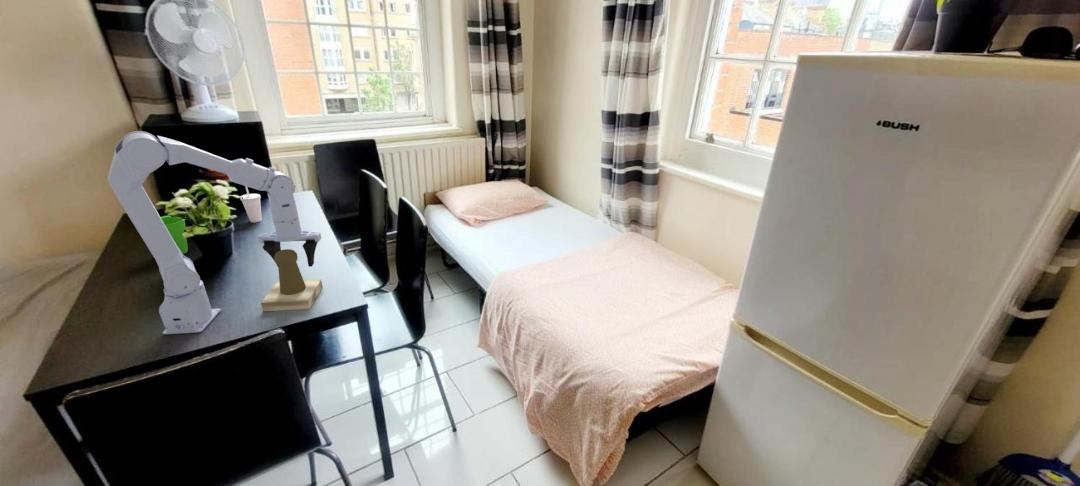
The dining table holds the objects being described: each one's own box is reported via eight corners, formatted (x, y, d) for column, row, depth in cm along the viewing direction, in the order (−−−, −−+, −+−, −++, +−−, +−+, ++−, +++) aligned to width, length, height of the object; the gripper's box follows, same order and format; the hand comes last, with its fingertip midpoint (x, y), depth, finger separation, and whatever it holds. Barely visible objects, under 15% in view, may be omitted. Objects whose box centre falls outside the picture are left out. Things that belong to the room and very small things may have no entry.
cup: (158, 251, 135) (147, 218, 131) (194, 244, 141) (184, 213, 136) (159, 261, 129) (147, 228, 125) (196, 254, 135) (186, 221, 130)
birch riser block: (310, 308, 110) (308, 300, 109) (263, 311, 108) (260, 302, 107) (322, 287, 119) (321, 279, 118) (279, 289, 118) (277, 281, 117)
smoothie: (241, 222, 159) (232, 186, 153) (257, 216, 165) (248, 181, 159) (255, 224, 158) (246, 188, 152) (270, 219, 163) (261, 183, 157)
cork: (293, 296, 110) (284, 258, 105) (274, 292, 111) (264, 254, 107) (311, 285, 115) (303, 248, 111) (292, 281, 117) (284, 245, 112)
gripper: (320, 212, 115) (329, 257, 120) (261, 213, 112) (273, 259, 118) (312, 222, 108) (321, 269, 114) (249, 223, 106) (262, 271, 112)
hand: (296, 265), depth 116 cm, fingers open, 7 cm apart
